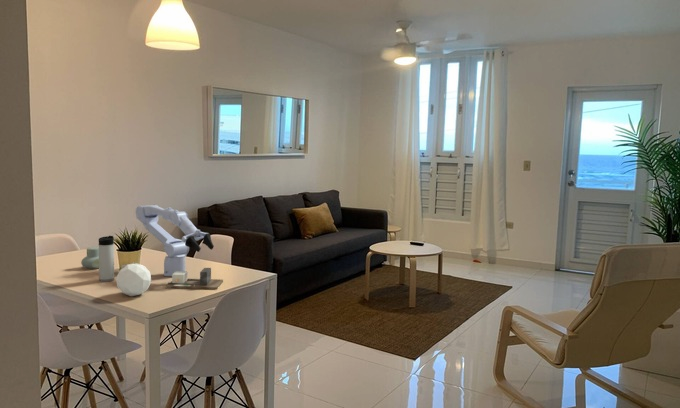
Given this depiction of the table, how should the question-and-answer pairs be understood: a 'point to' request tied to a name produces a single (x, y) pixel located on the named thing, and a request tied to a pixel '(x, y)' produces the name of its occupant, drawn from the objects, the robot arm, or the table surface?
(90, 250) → the air freshener
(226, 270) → the table surface
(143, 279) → the geodesic sphere
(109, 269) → the travel mug
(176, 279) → the block
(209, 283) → the base
